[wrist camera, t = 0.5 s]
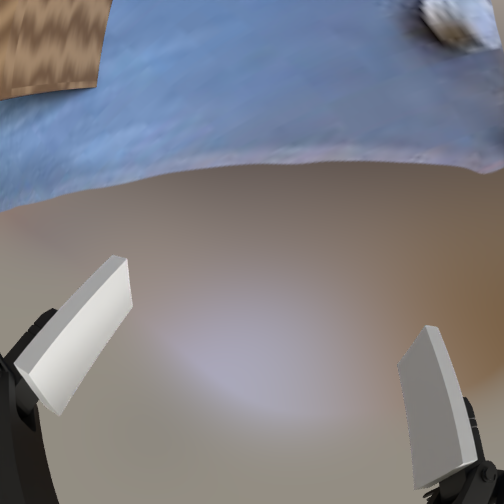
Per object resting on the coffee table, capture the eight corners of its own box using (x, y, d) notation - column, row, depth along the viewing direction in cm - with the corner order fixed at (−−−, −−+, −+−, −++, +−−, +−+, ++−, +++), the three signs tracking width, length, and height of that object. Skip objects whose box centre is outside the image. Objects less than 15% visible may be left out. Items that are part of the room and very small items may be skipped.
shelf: (49, 10, 25) (-27, 7, 9) (115, -11, 24) (31, -36, 8) (35, 94, 33) (-44, 112, 18) (96, 87, 33) (1, 99, 17)
